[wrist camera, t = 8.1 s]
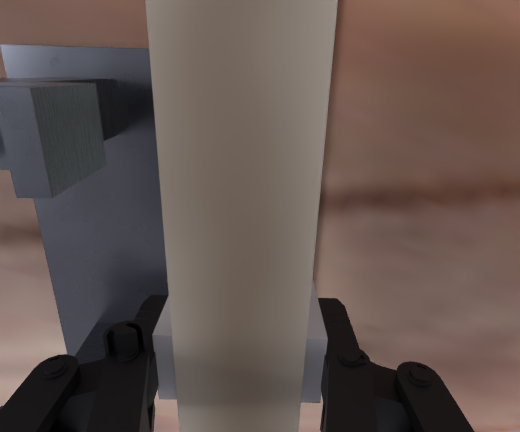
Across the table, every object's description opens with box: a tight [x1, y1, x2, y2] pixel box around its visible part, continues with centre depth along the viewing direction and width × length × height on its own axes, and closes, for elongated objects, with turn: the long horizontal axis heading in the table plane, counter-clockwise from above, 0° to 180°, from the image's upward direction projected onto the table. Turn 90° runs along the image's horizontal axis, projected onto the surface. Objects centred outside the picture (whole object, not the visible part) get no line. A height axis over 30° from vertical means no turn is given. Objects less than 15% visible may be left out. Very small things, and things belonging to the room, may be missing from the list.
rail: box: [145, 0, 338, 432], centre depth 14 cm, size 4×24×6 cm, turn 178°
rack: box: [0, 45, 169, 410], centre depth 18 cm, size 8×22×12 cm, turn 178°
